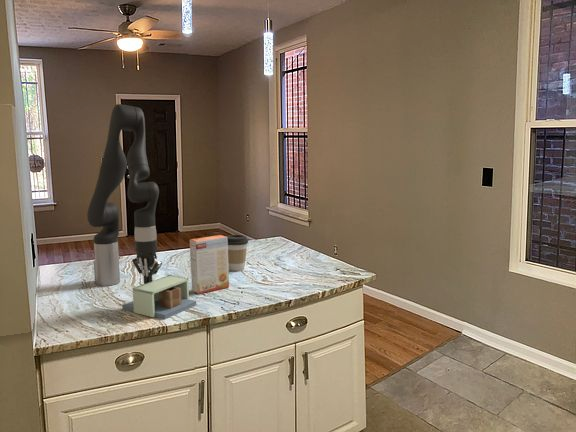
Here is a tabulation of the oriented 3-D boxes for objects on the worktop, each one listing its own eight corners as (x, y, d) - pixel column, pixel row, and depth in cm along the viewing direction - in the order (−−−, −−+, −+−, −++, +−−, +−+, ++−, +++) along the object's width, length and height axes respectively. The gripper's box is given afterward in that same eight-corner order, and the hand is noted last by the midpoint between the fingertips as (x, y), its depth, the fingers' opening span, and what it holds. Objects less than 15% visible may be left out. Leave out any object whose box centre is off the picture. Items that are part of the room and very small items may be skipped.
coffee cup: (250, 266, 234) (250, 234, 231) (246, 272, 223) (246, 239, 220) (226, 265, 235) (226, 233, 233) (221, 272, 224) (220, 239, 221)
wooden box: (159, 306, 177) (158, 289, 176) (169, 301, 181) (169, 285, 180) (170, 308, 174) (170, 292, 173) (181, 304, 179) (180, 287, 178)
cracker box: (222, 284, 207) (220, 234, 203) (229, 287, 202) (228, 236, 198) (190, 290, 198) (189, 238, 195) (197, 294, 194) (196, 241, 190)
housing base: (122, 308, 178) (121, 293, 177) (155, 296, 192) (154, 282, 191) (165, 319, 168) (164, 303, 168) (196, 304, 182) (195, 290, 181)
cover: (133, 312, 174) (132, 288, 172) (170, 297, 190) (169, 274, 188) (153, 317, 170) (151, 292, 168) (189, 301, 185) (188, 278, 184)
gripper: (167, 238, 178) (169, 285, 181) (140, 234, 185) (142, 280, 188) (151, 242, 172) (154, 291, 175) (124, 238, 179) (127, 285, 181)
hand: (148, 285), depth 181 cm, fingers closed
